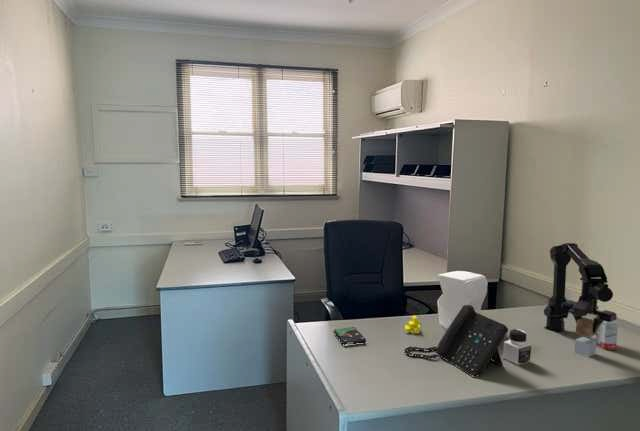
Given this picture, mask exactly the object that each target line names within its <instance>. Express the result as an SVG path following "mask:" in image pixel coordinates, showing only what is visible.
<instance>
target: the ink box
mask: <svg viewBox="0 0 640 431" xmlns="http://www.w3.org/2000/svg"><path fill="white" fill-rule="evenodd" d="M618 328H619V323H618V322H616V320H614V321H612V322H607V321H603V322H602V323H601V325H600V326H599V328H598V330H597V334H596V335H595V340H594V341H596V344H598V345H599V346H600V347H601V348H602V349H603V350H609V351H616V350H617V342H618V340H617V339H618Z"/></svg>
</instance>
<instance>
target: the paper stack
mask: <svg viewBox="0 0 640 431" xmlns="http://www.w3.org/2000/svg"><path fill="white" fill-rule="evenodd" d="M435 276H436V277H437V279H438V282H439V284H440V288H441V291H442V292H441V293H442V294H441V296H439V298H438V299H437V300H436V301H437V313H438V314H437V315H438V322H439V325H440V324H441V325H442V326H443V327H445V328H449V326H450V325H451V323H452V322H453V320H454V319H455V317H456V316H457V314H458V313H459V311H460V310H461V308H462V307H463V306H464V305H471V306H472V307H473V308H474V311H475V312H476V313H477V314H481V311H482V305H483V303H484V300H485V298H486V296H487V293H488V283H489V282H488V281H487V278H486V276H485V275H484V274H480V273H475V272H472V271H465V270H455V271H449V272H444V273H439V274H436V275H435ZM441 325H440V326H441ZM442 326H441V327H442ZM443 327H442V328H443ZM445 328H444V329H445Z"/></svg>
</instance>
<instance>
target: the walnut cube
mask: <svg viewBox="0 0 640 431" xmlns="http://www.w3.org/2000/svg"><path fill="white" fill-rule="evenodd" d="M593 327H594V320H593V318H592V319H591V318H588V317H586V316H582V318H580V319H577V323H576V322H575V333H576V334H579V335H582V336H586V337H588V338H591V337H593V336H596V334H597V331H596V333H595V334H594V333H593Z"/></svg>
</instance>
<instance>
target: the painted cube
mask: <svg viewBox="0 0 640 431" xmlns="http://www.w3.org/2000/svg"><path fill="white" fill-rule="evenodd" d="M596 350H597V342H596V341H595V340H594V339H590V338H589V337H588V338H587V337H584V336H581V337H578V338H576V339H575V341H574V353H575V354H578V355H581V356H584V357H587V358H590V357H591V356H595V355H596Z"/></svg>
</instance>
